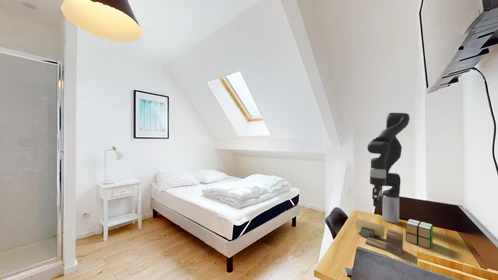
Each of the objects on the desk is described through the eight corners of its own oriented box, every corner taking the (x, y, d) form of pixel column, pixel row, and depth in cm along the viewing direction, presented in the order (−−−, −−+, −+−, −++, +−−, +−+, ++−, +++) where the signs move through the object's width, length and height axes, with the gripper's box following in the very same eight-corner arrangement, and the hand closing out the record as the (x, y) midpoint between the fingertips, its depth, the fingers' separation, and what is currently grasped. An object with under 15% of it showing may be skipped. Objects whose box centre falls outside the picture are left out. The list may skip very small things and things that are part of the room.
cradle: (363, 230, 115) (364, 224, 115) (375, 234, 111) (375, 227, 111) (360, 235, 109) (360, 228, 109) (372, 239, 105) (372, 232, 105)
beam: (368, 238, 105) (368, 223, 105) (402, 249, 95) (402, 232, 95) (365, 243, 100) (365, 227, 100) (401, 255, 90) (401, 237, 90)
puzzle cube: (408, 235, 110) (409, 218, 110) (432, 242, 103) (432, 224, 103) (405, 241, 104) (405, 223, 104) (430, 249, 96) (430, 229, 96)
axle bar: (357, 226, 116) (357, 218, 116) (384, 234, 106) (385, 225, 106) (355, 228, 113) (355, 220, 113) (383, 237, 103) (383, 228, 103)
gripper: (383, 179, 99) (383, 209, 100) (387, 175, 110) (387, 203, 110) (367, 177, 105) (366, 206, 105) (372, 173, 115) (372, 200, 115)
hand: (377, 204), depth 107 cm, fingers open, 8 cm apart
